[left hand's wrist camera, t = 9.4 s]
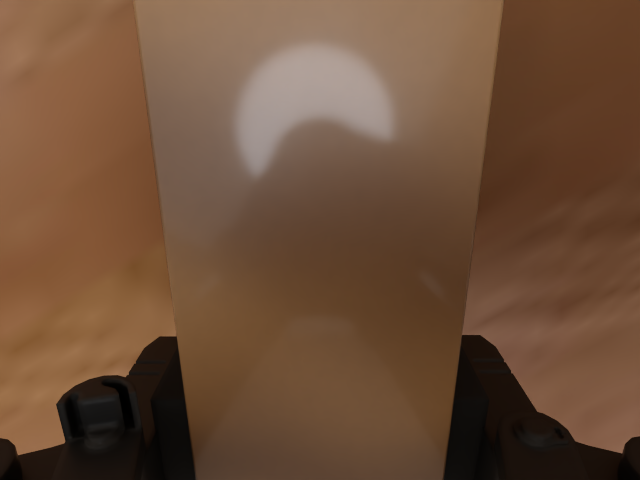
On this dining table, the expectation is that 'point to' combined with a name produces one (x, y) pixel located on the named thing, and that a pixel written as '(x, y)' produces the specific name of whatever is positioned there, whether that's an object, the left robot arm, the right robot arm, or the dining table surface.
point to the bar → (318, 224)
